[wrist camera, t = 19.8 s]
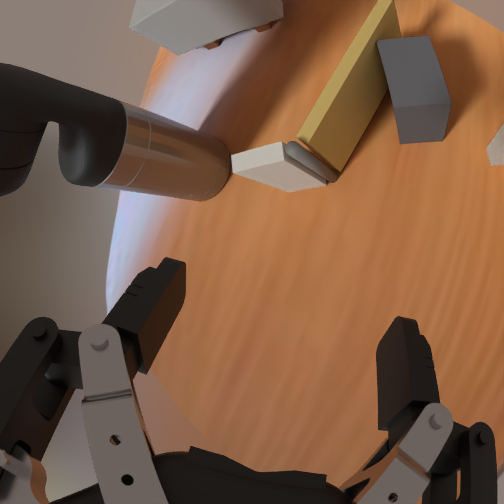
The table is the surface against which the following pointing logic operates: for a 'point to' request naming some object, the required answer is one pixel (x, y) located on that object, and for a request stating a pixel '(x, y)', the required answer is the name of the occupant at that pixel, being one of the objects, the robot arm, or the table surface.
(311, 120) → the door
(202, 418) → the table surface
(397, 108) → the rubber block
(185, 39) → the toy
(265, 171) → the wall frame
